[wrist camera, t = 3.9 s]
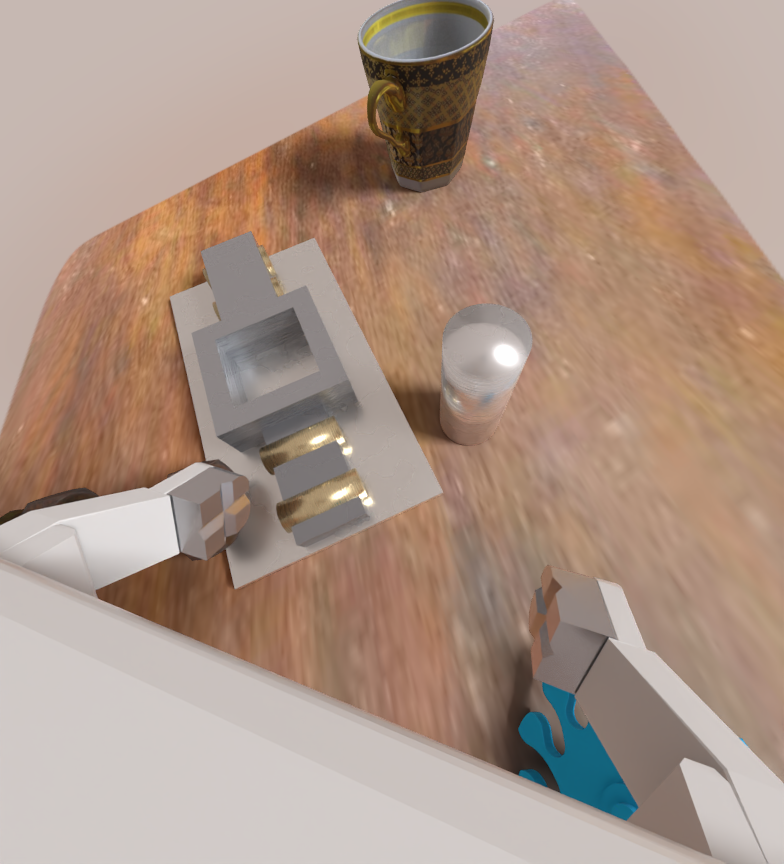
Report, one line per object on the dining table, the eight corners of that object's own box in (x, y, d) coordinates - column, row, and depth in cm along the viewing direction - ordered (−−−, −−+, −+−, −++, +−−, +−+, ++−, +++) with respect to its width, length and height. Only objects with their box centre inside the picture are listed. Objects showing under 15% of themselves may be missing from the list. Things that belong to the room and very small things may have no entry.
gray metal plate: (239, 588, 22) (204, 591, 18) (174, 301, 32) (144, 269, 28) (443, 494, 22) (444, 480, 19) (316, 243, 33) (303, 206, 29)
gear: (545, 617, 18) (877, 807, 9) (598, 632, 21) (888, 787, 12) (470, 858, 16) (804, 1368, 8) (541, 837, 19) (836, 1185, 10)
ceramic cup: (408, 130, 38) (401, -14, 28) (495, 150, 35) (517, -2, 26) (341, 207, 34) (307, 71, 25) (431, 236, 31) (430, 96, 22)
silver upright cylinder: (456, 455, 23) (468, 389, 15) (430, 407, 25) (428, 324, 17) (509, 430, 24) (550, 353, 15) (480, 384, 25) (502, 291, 17)
